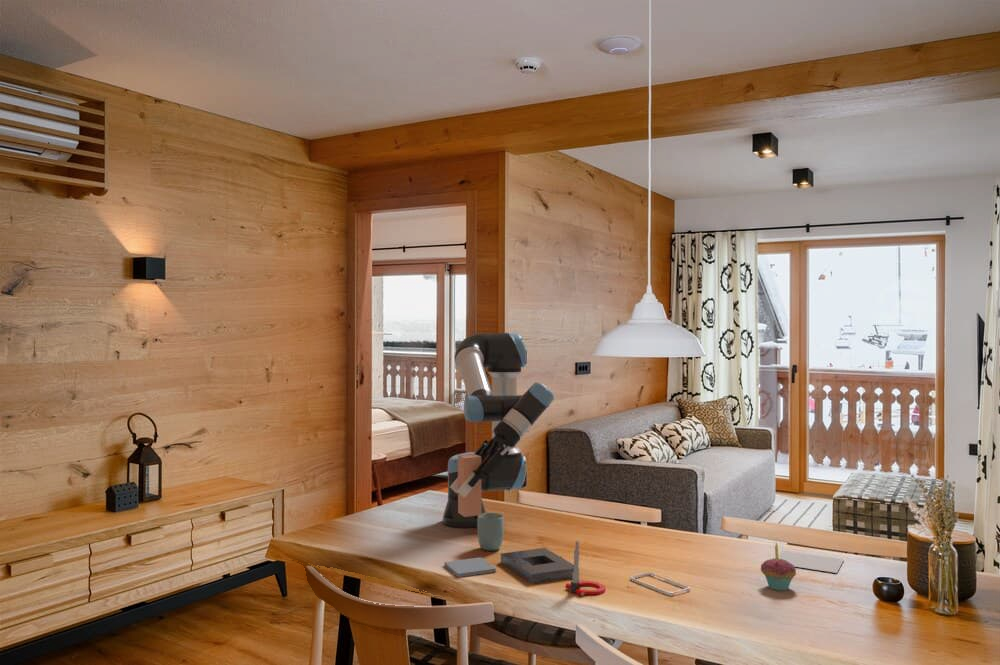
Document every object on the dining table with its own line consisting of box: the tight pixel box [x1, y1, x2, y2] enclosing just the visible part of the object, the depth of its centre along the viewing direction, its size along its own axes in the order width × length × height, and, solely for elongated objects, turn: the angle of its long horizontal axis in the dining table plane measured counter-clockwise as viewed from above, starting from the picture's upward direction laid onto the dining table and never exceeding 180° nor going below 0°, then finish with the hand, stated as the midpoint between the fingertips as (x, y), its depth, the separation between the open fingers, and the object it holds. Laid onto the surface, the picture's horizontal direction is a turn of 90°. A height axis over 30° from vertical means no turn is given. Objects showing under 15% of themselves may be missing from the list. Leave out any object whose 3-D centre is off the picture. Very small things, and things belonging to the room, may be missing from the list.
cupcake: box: [760, 542, 797, 591], centre depth 194 cm, size 9×8×12 cm
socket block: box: [500, 547, 580, 584], centre depth 209 cm, size 20×14×2 cm
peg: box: [457, 454, 483, 517], centre depth 209 cm, size 5×5×16 cm
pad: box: [443, 556, 497, 578], centre depth 209 cm, size 11×11×1 cm
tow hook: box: [564, 540, 606, 597], centre depth 192 cm, size 8×13×9 cm
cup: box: [476, 512, 505, 552], centre depth 228 cm, size 8×8×10 cm
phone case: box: [629, 571, 691, 597], centre depth 196 cm, size 7×1×15 cm
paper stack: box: [778, 550, 861, 574], centre depth 216 cm, size 23×25×1 cm
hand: (457, 492), depth 207 cm, fingers closed on peg, 5 cm apart
